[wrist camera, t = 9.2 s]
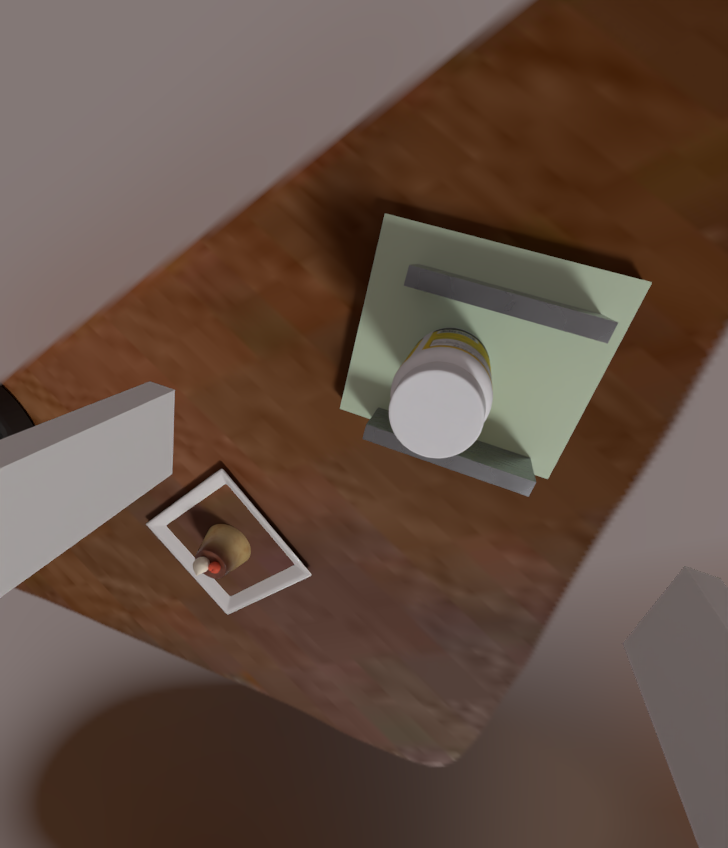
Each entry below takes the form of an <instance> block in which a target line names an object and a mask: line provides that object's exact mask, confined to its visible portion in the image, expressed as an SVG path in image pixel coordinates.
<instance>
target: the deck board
mask: <svg viewBox="0 0 728 848" xmlns="http://www.w3.org/2000/svg"><path fill="white" fill-rule="evenodd" d="M412 264H421V265H425V266H429V267H432V268H436V269H439V270H443V271H447V272H450V273H454V274H458V275H461V276H465V277H469V278H472V279H476V280H480V281H483V282H487V283H490V284H494V285H498V286H501V287H505V288H509V289H512V290H516V291H520V292H523V293H527V294H531V295H534V296H538V297H541V298H545V299H549V300H552V301H556V302H560V303H563V304H567V305H571V306H574V307H578V308H582V309H585V310H589V311H593V312H596V313H600V314H603V315H604V316H606V317H608V318H610V319H612V320H614V321H616V322H618V325H617V326H616V328H615V330H614V332H613V334H612V336H611V338H610V340H609V342H608V344H607V343H604V342H600V341H597V340H593V339H590V338H586V337H583V336H579V335H576V334H572V333H569V332H565V331H562V330H558V329H554V328H551V327H547V326H544V325H540V324H537V323H533V322H530V321H526V320H523V319H519V318H516V317H512V316H509V315H505V314H502V313H498V312H495V311H491V310H488V309H484V308H481V307H477V306H474V305H470V304H467V303H463V302H459V301H456V300H452V299H449V298H445V297H442V296H438V295H435V294H431V293H428V292H424V291H421V290H417V289H414V288H410V287H407V286H404V282H405V278H406V275H407V271H408V267H409V265H412ZM651 284H652V282H649V281H645V280H641V279H637V278H633V277H629V276H625V275H622V274H618V273H614V272H610V271H606V270H602V269H598V268H595V267H591V266H587V265H583V264H579V263H575V262H571V261H567V260H564V259H560V258H556V257H552V256H548V255H544V254H540V253H537V252H533V251H529V250H525V249H521V248H517V247H513V246H509V245H506V244H502V243H498V242H494V241H490V240H486V239H482V238H479V237H475V236H471V235H467V234H463V233H459V232H455V231H451V230H448V229H444V228H440V227H436V226H432V225H428V224H424V223H421V222H417V221H413V220H409V219H405V218H401V217H397V216H393V215H390V214H386V213H385V214H384V219H383V223H382V228H381V232H380V236H379V241H378V245H377V249H376V254H375V258H374V262H373V267H372V271H371V275H370V280H369V284H368V288H367V293H366V297H365V301H364V306H363V310H362V314H361V319H360V323H359V327H358V332H357V336H356V341H355V345H354V349H353V354H352V358H351V362H350V367H349V371H348V375H347V380H346V384H345V388H344V393H343V397H342V401H341V406H340V409H342V410H345V411H348V412H351V413H354V414H357V415H360V416H363V417H366V418H369V419H370V418H371V417H372V416H373V414H374V413H375V411H376V410H377V408H378V407H379V408H382V409H385V410H388V411H389V403H390V392H391V386H392V382H393V378H394V376H395V374H396V372H397V371H398V369H399V368H400V366H401V365H402V364H403V362H404V361H405V360H406V358H407V357H408V355H409V354H410V353H411V351H412V350H413V348H414V347H415V345H416V344H417V343H418V342H419V341H420V340H421V339H422V338H423V337H424V336H426V335H427V334H429V333H430V332H432V331H435V330H438V329H441V328H459V329H463V330H466V331H468V332H470V333H472V334H473V335H474V336H476V337H477V338H478V339H479V340H480V341H481V342H482V343H483V345H484V346H485V348H486V350H487V353H488V355H489V359H490V366H491V376H492V387H493V401H492V406H491V410H490V413H489V415H488V417H487V419H486V421H485V422H484V424H483V428H482V431H481V433H480V435H479V436H478V438H477V439H476V440H478V441H481V442H484V443H487V444H490V445H493V446H496V447H499V448H502V449H505V450H508V451H511V452H514V453H517V454H520V455H523V456H526V457H529V458H531V462H532V467H533V471H534V475H537V476H540V477H543V478H546V479H548V478H549V476H550V474H551V472H552V470H553V469H554V467H555V465H556V463H557V461H558V459H559V457H560V455H561V453H562V452H563V450H564V448H565V446H566V444H567V442H568V440H569V438H570V436H571V435H572V433H573V431H574V429H575V427H576V425H577V423H578V421H579V419H580V418H581V416H582V414H583V412H584V410H585V408H586V406H587V404H588V402H589V401H590V399H591V397H592V395H593V393H594V391H595V389H596V387H597V385H598V384H599V382H600V380H601V378H602V376H603V374H604V372H605V370H606V369H607V367H608V365H609V363H610V361H611V359H612V357H613V355H614V353H615V352H616V350H617V348H618V346H619V344H620V342H621V340H622V338H623V336H624V335H625V333H626V331H627V329H628V327H629V325H630V323H631V321H632V319H633V318H634V316H635V314H636V312H637V310H638V308H639V306H640V304H641V302H642V301H643V299H644V297H645V295H646V293H647V291H648V289H649V287H650V285H651Z"/></svg>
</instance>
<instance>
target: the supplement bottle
mask: <svg viewBox="0 0 728 848" xmlns="http://www.w3.org/2000/svg"><path fill="white" fill-rule="evenodd" d="M492 401H493V387H492V376H491V366H490V359H489V355H488V353H487V350H486V348H485V346H484V345H483V343H482V342H481V341H480V340H479V339H478V338H477V337H476V336H474V335H473V334H472V333H470V332H468V331H466V330H463V329H459V328H441V329H438V330H435V331H432V332H430V333H429V334H427V335H426V336H424V337H423V338H422V339H421V340H420V341H419V342H418V343H417V344H416V345H415V347H414V348H413V350H412V351H411V353H410V354H409V355H408V357H407V358H406V360H405V361H404V362H403V364H402V365H401V366H400V368H399V369H398V371H397V372H396V374H395V376H394V378H393V382H392V386H391V392H390V403H389V421H390V425H391V428H392V430H393V432H394V434H395V436H396V437H397V439H398V440H399V441H400V442H401V443H402V444H403V445H404V446H405V447H406V448H408V449H409V450H411V451H412V452H414V453H416V454H419V455H421V456H424V457H429V458H447V457H451V456H454V455H457V454H459V453H461V452H463V451H465V450H466V449H468V448H469V447H470V446H471V445H472V444H473V443H474V442H475V441H476V439H477V438H478V436H479V435H480V433H481V431H482V428H483V424H484V422H485V421H486V419H487V417H488V415H489V413H490V410H491V406H492Z"/></svg>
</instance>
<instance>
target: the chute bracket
mask: <svg viewBox="0 0 728 848" xmlns="http://www.w3.org/2000/svg"><path fill="white" fill-rule="evenodd" d="M404 286H407V287H410V288H414V289H417V290H421V291H424V292H428V293H431V294H435V295H438V296H442V297H445V298H449V299H452V300H456V301H459V302H463V303H467V304H470V305H474V306H477V307H481V308H484V309H488V310H491V311H495V312H498V313H502V314H505V315H509V316H512V317H516V318H519V319H523V320H526V321H530V322H533V323H537V324H540V325H544V326H547V327H551V328H554V329H558V330H562V331H565V332H569V333H572V334H576V335H579V336H583V337H586V338H590V339H593V340H597V341H600V342H604V343H607V344H608V342H609V340H610V338H611V336H612V334H613V332H614V330H615V328H616V326H617V325H618V322H616V321H614V320H612V319H610V318H608V317H606V316H604V315H603V314H600V313H596V312H593V311H589V310H585V309H582V308H578V307H574V306H571V305H567V304H563V303H560V302H556V301H552V300H549V299H545V298H541V297H538V296H534V295H531V294H527V293H523V292H520V291H516V290H512V289H509V288H505V287H501V286H498V285H494V284H490V283H487V282H483V281H480V280H476V279H472V278H469V277H465V276H461V275H458V274H454V273H450V272H447V271H443V270H439V269H436V268H432V267H429V266H425V265H421V264H412V265H409V267H408V271H407V275H406V278H405V282H404ZM363 439H365V440H367V441H370V442H373V443H376V444H379V445H382V446H385V447H388V448H390V449H393V450H396V451H399V452H402V453H405V454H408V455H411V456H413V457H416V458H419V459H422V460H425V461H428V462H431V463H434V464H436V465H439V466H442V467H445V468H448V469H451V470H454V471H457V472H459V473H462V474H465V475H468V476H471V477H474V478H477V479H480V480H482V481H485V482H488V483H491V484H494V485H497V486H500V487H503V488H505V489H508V490H511V491H514V492H517V493H520V494H523V495H526V496H528V497H529V495H530V493H531V491H532V489H533V487H534V485H535V483H536V480H535V475H534V471H533V467H532V462H531V458H529V457H526V456H523V455H520V454H517V453H514V452H511V451H508V450H505V449H502V448H499V447H496V446H493V445H490V444H487V443H484V442H481V441H478V440H476V441H475V442H474V443H473V444H472V445H471V446H470V447H469V448H468V449H466V450H465V451H463V452H461V453H459V454H457V455H454V456H451V457H447V458H429V457H424V456H421V455H419V454H416V453H414V452H412V451H411V450H409V449H408V448H406V447H405V446H404V445H403V444H402V443H401V442H400V441H399V440H398V439H397V437H396V436H395V434H394V432H393V430H392V428H391V425H390V421H389V411H388V410H385V409H382V408H379V407H378V408H377V410H376V411H375V413H374V414H373V416H372V417H371V418H370V420H369V421H368V423H367V424H366V428H365V432H364V435H363Z"/></svg>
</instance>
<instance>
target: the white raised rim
mask: <svg viewBox="0 0 728 848" xmlns="http://www.w3.org/2000/svg"><path fill="white" fill-rule="evenodd" d="M224 484H227V485H228V486H229V487H230V488H231V489H232V490H233V492H234V493H235V494H236V495H237V496H238V498H239V499H240V500H241V501H242V502H243V503H244V505H245V506H246V507H247V508H248V509H249V511H250V512H251V513H252V514H253V515H254V517H255V518H256V519H257V520H258V521H259V522H260V524H261V525H262V526H263V527H264V528H265V530H266V531H267V532H268V533H269V534H270V536H271V537H272V538H273V539H274V540H275V541H276V543H277V544H278V545H279V546H280V547H281V549H282V550H283V551H284V552H285V553H286V555H287V556H288V557H289V558H290V559H291V560H292V562H293V563H294V566H292V567H290V568H288V569H286V570H284V571H282V572H280V573H278V574H276V575H273V576H271V577H269V578H267V579H265V580H263V581H261V582H259V583H257V584H255V585H253V586H251V587H249V588H247V589H245V590H243V591H241V592H239V593H237V594H235V595H233V596H229V595H228V594H227V593H226V592H225V591H224V590H223V588H222V587H221V586H220V585H219V584H218V583H217V582H216V581H215V580H214V579H219V578H222V577H224V576H225V575H227V574H228V573H230V572H231V571H233V570H234V569H235V568H237V567H238V566H240V565H241V564H243V563H245V562H246V561H247V560H248V559H249V557H250V553H251V550H250V545H249V543H248V541H247V539H246V538H245V536H244V535H243V534H242V533H241V532H240V531H239V530H237V529H236V528H234V527H232V526H230V525H226V524H216V525H213V526H212V527H210V529H209V530H208V532H207V534H206V536H205V538H204V540H203V542H202V544H201V546H200V548H199V550H198V552H197V554H196V556H195V558H194V556H193V555H192V554H191V553H190V552H189V551H188V550H187V549H186V548H185V546H184V545H183V544H182V543H181V542H180V541H179V540H178V539H177V538H176V537H175V535H174V534H173V533H172V532H171V531H170V530H169V529H168V528H167V526H166V525H167V524H169V523H170V522H171V521H173V520H174V519H176V518H177V517H179V516H180V515H181V514H183V513H184V512H186V511H187V510H189V509H190V508H191V507H193V506H194V505H196V504H197V503H199V502H200V501H201V500H203V499H204V498H206V497H207V496H208V495H210V494H211V493H213V492H214V491H216V490H217V489H218V488H220V487H221V486H223V485H224ZM146 525H147V526H148V527H149V529H150V530H151V531H152V532H153V533H154V534H155V535H156V536H157V537H158V539H159V540H160V541H161V542H162V543H163V544H164V545H165V546H166V547H167V549H168V550H169V551H170V552H171V553H172V554H173V555H174V556H175V557H176V559H177V560H178V561H179V562H180V563H181V564H182V565H183V566H184V567H185V568H186V570H187V571H188V572H189V573H190V574H191V575H192V576H193V577H194V578H195V580H196V581H197V582H198V583H199V584H200V585H201V586H202V587H203V588H204V590H205V591H206V592H207V593H208V594H209V595H210V596H211V597H212V598H213V600H214V601H215V602H216V603H217V604H218V605H219V606H220V607H221V608H222V609H223V611H224V612H225V613H226V614H230V613H232V612H235V611H237V610H239V609H241V608H243V607H245V606H247V605H250V604H252V603H254V602H256V601H258V600H260V599H262V598H265V597H267V596H269V595H271V594H273V593H275V592H277V591H280V590H282V589H284V588H286V587H288V586H290V585H293V584H295V583H297V582H299V581H301V580H303V579H305V578H308V577H310V576H311V573H310V572H309V571H308V569H307V568H306V567H305V566H304V565H303V563H302V562H301V561H300V560H299V559H298V557H297V556H296V555H295V554H294V553H293V551H292V550H291V549H290V548H289V547H288V546H287V544H286V543H285V542H284V541H283V540H282V538H281V537H280V536H279V535H278V534H277V532H276V531H275V530H274V529H273V528H272V526H271V525H270V524H269V523H268V522H267V521H266V519H265V518H264V517H263V516H262V515H261V513H260V512H259V511H258V510H257V509H256V507H255V506H254V505H253V504H252V503H251V502H250V500H249V499H248V498H247V497H246V496H245V494H244V493H243V492H242V491H241V490H240V488H239V487H238V486H237V485H236V484H235V482H234V481H233V480H232V479H231V478H230V477H229V475H228V474H227V473H226V472H225V471H224V470H223V469H220V470H218V471H217V472H216V473H214V474H213V475H212V476H210V477H209V478H207V479H206V480H205V481H203V482H202V483H201V484H199V485H198V486H196V487H195V488H194V489H192V490H191V491H190V492H188V493H187V494H186V495H184V496H183V497H181V498H180V499H179V500H177V501H176V502H175V503H173V504H172V505H171V506H169V507H168V508H166V509H165V510H164V511H162V512H161V513H160V514H158V515H157V516H155V517H154V518H153V519H151V520H150V521H149V522H147V523H146ZM213 578H214V579H213Z"/></svg>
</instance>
